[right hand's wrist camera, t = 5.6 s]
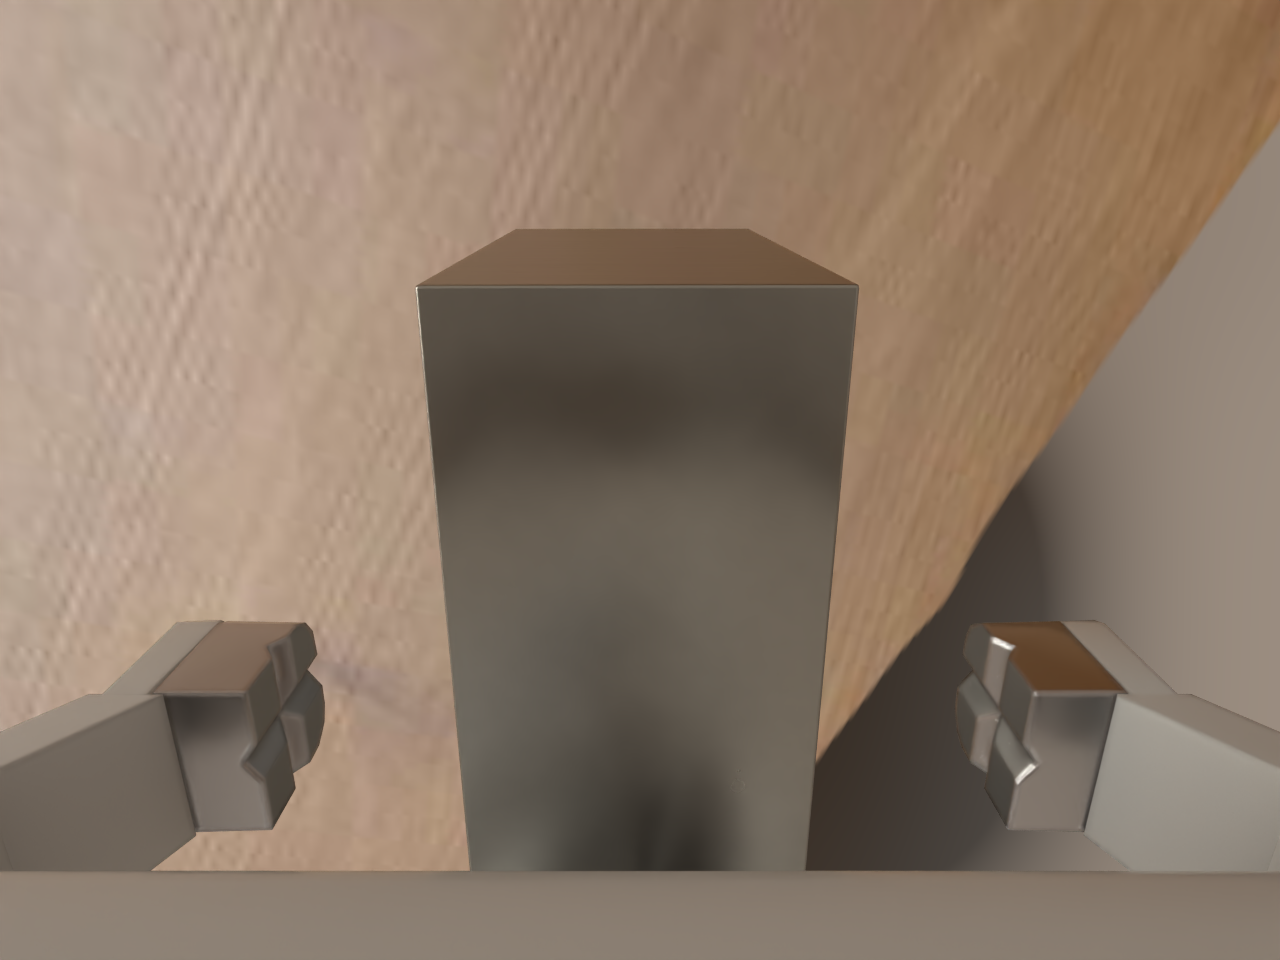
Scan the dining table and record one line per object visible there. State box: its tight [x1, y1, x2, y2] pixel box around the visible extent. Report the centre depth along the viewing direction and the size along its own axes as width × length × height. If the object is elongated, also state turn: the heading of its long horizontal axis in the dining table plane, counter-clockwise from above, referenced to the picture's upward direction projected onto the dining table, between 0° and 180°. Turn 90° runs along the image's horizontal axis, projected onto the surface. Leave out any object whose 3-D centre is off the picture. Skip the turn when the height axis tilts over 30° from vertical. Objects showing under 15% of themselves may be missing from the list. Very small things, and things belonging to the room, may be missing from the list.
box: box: [415, 229, 859, 871], centre depth 22 cm, size 25×6×12 cm, turn 0°
